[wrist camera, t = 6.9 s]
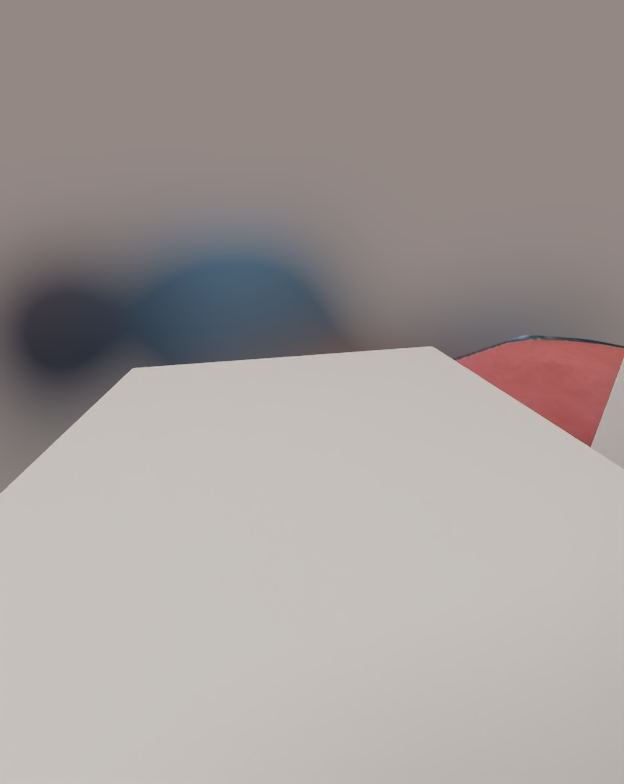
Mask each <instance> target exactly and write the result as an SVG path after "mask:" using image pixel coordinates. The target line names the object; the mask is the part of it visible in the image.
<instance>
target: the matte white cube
mask: <svg viewBox="0 0 624 784" xmlns="http://www.w3.org/2000/svg"><path fill="white" fill-rule="evenodd" d="M591 448H592V449H593V450H595V451H596V452H598V453H600V454H601V455H603V456H604V457H606V458H607V459H609V460H610V461H612V462H614V463H615V464H617V465H618V466H620V467H621V468H623V469H624V359H623V362H622V364H621V367H620V370H619V372H618V375H617V378H616V381H615V383H614V386H613V389H612V391H611V394H610V397H609V400H608V402H607V405H606V408H605V410H604V413H603V416H602V418H601V421H600V424H599V427H598V429H597V432H596V435H595V437H594V440H593V443H592V445H591Z"/></svg>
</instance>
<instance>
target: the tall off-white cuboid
mask: <svg viewBox="0 0 624 784" xmlns="http://www.w3.org/2000/svg"><path fill="white" fill-rule="evenodd" d="M0 784H624V469H623V468H621V467H620V466H618V465H617V464H615V463H614V462H612V461H610V460H609V459H607V458H606V457H604V456H603V455H601V454H600V453H598V452H596V451H595V450H593V449H592V448H590V447H589V446H587V445H586V444H584V443H582V442H581V441H579V440H578V439H576V438H575V437H573V436H571V435H570V434H568V433H567V432H565V431H564V430H562V429H561V428H559V427H557V426H556V425H554V424H553V423H551V422H550V421H548V420H547V419H545V418H543V417H542V416H540V415H539V414H537V413H536V412H534V411H532V410H531V409H529V408H528V407H526V406H525V405H523V404H522V403H520V402H518V401H517V400H515V399H514V398H512V397H511V396H509V395H507V394H506V393H504V392H503V391H501V390H500V389H498V388H497V387H495V386H493V385H492V384H490V383H489V382H487V381H486V380H484V379H483V378H481V377H479V376H478V375H476V374H475V373H473V372H472V371H470V370H468V369H467V368H465V367H464V366H462V365H461V364H459V363H458V362H456V361H454V360H453V359H451V358H450V357H448V356H447V355H445V354H444V353H442V352H440V351H439V350H437V349H436V348H434V347H433V346H431V347H416V348H402V349H389V350H375V351H362V352H349V353H336V354H321V355H308V356H293V357H280V358H266V359H252V360H239V361H225V362H211V363H198V364H184V365H172V366H171V365H170V366H157V367H143V368H133V369H132V370H130V371H129V372H128V373H127V374H126V375H125V376H124V377H123V378H122V379H121V380H120V381H119V382H118V383H117V384H116V385H115V386H113V388H111V389H110V390H109V391H108V392H107V393H106V394H105V395H104V396H103V397H102V398H101V399H100V400H99V401H98V402H97V403H96V404H95V405H93V406H92V407H91V408H90V409H89V410H88V411H87V412H86V413H85V414H84V415H83V416H82V417H81V418H80V419H79V420H78V421H77V422H76V423H74V424H73V425H72V426H71V427H70V428H69V429H68V430H67V431H66V432H65V433H64V434H63V435H62V436H61V437H60V438H59V439H58V440H56V441H55V442H54V443H53V444H52V445H51V446H50V447H49V448H48V449H47V450H46V451H45V452H44V453H43V454H42V455H41V456H40V457H39V458H37V460H35V461H34V462H33V463H32V464H31V465H30V466H29V467H28V468H27V469H26V470H25V471H24V472H23V473H22V474H21V475H20V476H19V477H18V478H17V479H15V480H14V481H13V482H12V483H11V484H10V485H9V486H8V487H7V488H6V489H5V490H4V491H3V492H2V493H1V494H0Z"/></svg>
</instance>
